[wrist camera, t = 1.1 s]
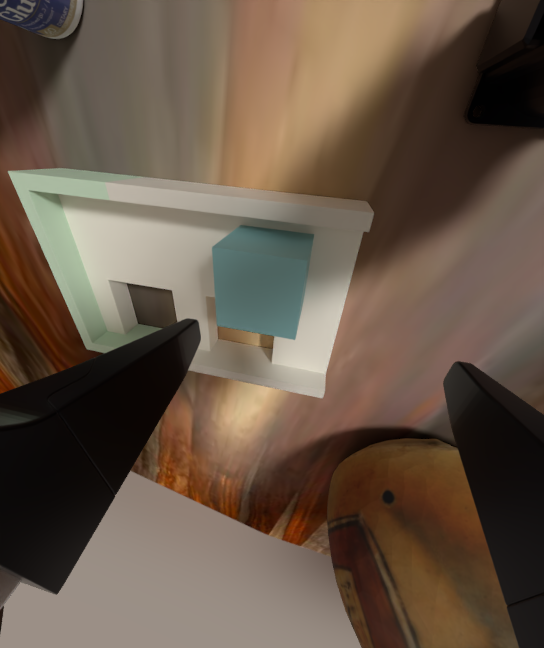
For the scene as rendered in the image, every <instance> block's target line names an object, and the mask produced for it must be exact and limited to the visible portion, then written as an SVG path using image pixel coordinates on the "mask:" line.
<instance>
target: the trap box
mask: <svg viewBox="0 0 544 648" xmlns="http://www.w3.org/2000/svg"><path fill="white" fill-rule="evenodd" d="M8 173H9V175H10V177H11V180H12V182H13V184H14V186H15V189H16V191H17V193H18V196H19V198H20V200H21V202H22V205H23V207H24V209H25V211H26V214H27V216H28V218H29V220H30V223H31V225H32V227H33V229H34V232H35V234H36V236H37V238H38V241H39V243H40V245H41V247H42V250H43V252H44V254H45V256H46V259H47V261H48V263H49V266H50V268H51V270H52V272H53V275H54V277H55V279H56V281H57V284H58V286H59V288H60V290H61V293H62V295H63V297H64V299H65V302H66V304H67V306H68V308H69V311H70V313H71V315H72V317H73V320H74V322H75V324H76V326H77V329H78V331H79V333H80V336H81V338H82V340H83V342H84V345H85V347H86V349H88V350H93V351H97V352H102V353H106V352H109V351H111V350H114V349H116V348H118V347H121V346H123V345H125V344H128V343H130V342H132V341H135V340H137V339H139V338H142V337H144V336H146V335H149V334H151V333H153V332H156V331H158V330H160V329H163V328H158V327H152V326H147V325H142V324H138V322H137V319H136V315H135V311H134V308H133V304H132V300H131V297H130V293H129V289H128V286H127V283H131V284H137V285H143V286H149V287H155V288H161V289H167V290H172V293H173V299H174V305H175V311H176V317H177V322H179V321H181V320H184V319H186V318H190V319H196V320H198V322H199V327H200V334H201V341H200V344H199V347H198V349H197V351H196V353H195V356H194V358H193V360H192V363H191V365H190V367H189V369H188V370H189V371H194V372H198V373H203V374H208V375H213V376H218V377H222V378H227V379H232V380H237V381H242V382H246V383H251V384H256V385H261V386H266V387H271V388H275V389H280V390H285V391H290V392H295V393H299V394H304V395H309V396H314V397H319V398H323V396H324V392H325V378H326V371H327V367H328V363H329V360H330V356H331V352H332V348H333V345H334V341H335V337H336V333H337V329H338V326H339V322H340V318H341V314H342V311H343V307H344V303H345V299H346V296H347V292H348V288H349V284H350V281H351V277H352V273H353V269H354V266H355V262H356V258H357V254H358V251H359V247H360V243H361V239H362V236H363V232H369V231H370V227H371V223H372V220H373V216H374V212H373V210H372V208H371V207H370V205H369V204H368V202H367V201H360V200H351V199H342V198H333V197H323V196H314V195H305V194H296V193H287V192H277V191H268V190H259V189H250V188H240V187H231V186H222V185H213V184H204V183H194V182H185V181H176V180H167V179H158V178H148V177H139V176H130V175H121V174H112V173H102V172H93V171H84V170H75V169H65V168H55V169H38V170H21V171H8ZM240 225H245V226H253V227H261V228H269V229H277V230H284V231H292V232H300V233H308V234H314V240H313V246H312V252H311V258H310V265H309V271H308V277H307V283H306V289H305V296H304V302H303V306H302V311H301V316H300V320H299V325H298V330H297V334H296V339H295V340H293V339H287V338H282V337H276V336H274V344H273V349H269V348H264V347H259V346H253V345H248V344H243V343H237V342H232V341H227V340H221V339H218V327H217V321H216V305H215V289H214V273H213V257H212V247H213V246H214V245H215V244H217V243H218V242H219V241H221V240H222V239H223V238H224V237H226V236H227V235H228V234H230V233H231V232H232V231H234V230H235V229H236V228H237V227H239V226H240Z"/></svg>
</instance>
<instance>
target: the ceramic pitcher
mask: <svg viewBox="0 0 544 648" xmlns="http://www.w3.org/2000/svg"><path fill="white" fill-rule="evenodd" d="M327 523H328V536H329V543H330V550H331V558H332V563H333V568H334V572H335V577H336V582H337V585H338V588H339V591H340V594H341V598H342V601H343V604H344V607H345V610H346V612H347V615H348V617H349V620H350V622H351V624H352V627H353V629H354V631H355V633H356V636H357V638H358V640H359V642H360V645H361V647H362V648H519V646H518V643H517V640H516V637H515V633H514V630H513V627H512V624H511V621H510V617H509V614H508V611H507V605H506V603H505V600H504V597H503V594H502V591H501V587H500V584H499V581H498V578H497V574H496V571H495V568H494V565H493V561H492V558H491V555H490V552H489V548H488V545H487V542H486V539H485V535H484V532H483V529H482V526H481V523H480V519H479V516H478V513H477V510H476V506H475V503H474V500H473V497H472V493H471V490H470V487H469V484H468V480H467V477H466V474H465V471H464V467H463V464H462V461H461V458H460V455H459V451H458V448H456V447H453V446H451V445H449V444H447V443H444V442H442V441H440V440H438V439H409V438H405V439H396V440H387V441H384V442H380V443H376V444H373V445H370V446H368V447H366V448H364V449H362V450H360V451H358V452H355V453H354V454H352V455H350V456H349V457H347V458H346V459H345V460H344V461H343V462H341V463H340V464H339V465H338V467H337V468H336V470H335V471H334V473H333V476H332V479H331V483H330V487H329V495H328V505H327Z"/></svg>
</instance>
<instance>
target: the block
mask: <svg viewBox="0 0 544 648" xmlns="http://www.w3.org/2000/svg"><path fill="white" fill-rule="evenodd" d="M313 240H314V234H308V233H300V232H292V231H284V230H277V229H269V228H261V227H253V226H245V225H240V226H239V227H237V228H236V229H235V230H234V231H232V232H231V233H230V234H228V235H227V236H226V237H224V238H223V239H222V240H221V241H219V242H218V243H217V244H215V245H214V246H213V247H212V257H213V273H214V289H215V305H216V321H217V326H221V327H227V328H232V329H238V330H243V331H249V332H254V333H260V334H265V335H271V336H276V337H282V338H287V339H293V340H295V339H296V334H297V330H298V325H299V320H300V316H301V311H302V306H303V302H304V296H305V289H306V283H307V277H308V271H309V265H310V258H311V252H312V246H313Z"/></svg>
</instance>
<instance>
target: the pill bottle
mask: <svg viewBox="0 0 544 648" xmlns="http://www.w3.org/2000/svg"><path fill="white" fill-rule="evenodd" d="M82 8H83V0H0V19H1V20H4V21H6V22H9V23H11V24H14V25H16V26H19V27H21V28H24V29H26V30H28V31H31V32H33V33H36V34H38V35H41V36H44V37H47V38H52V39H61V38H65V37H67V36H69V35H70V34H71V33H72V32H73V31H74V30H75V28H76V27H77V25H78V23H79V20H80V17H81V14H82Z"/></svg>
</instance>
